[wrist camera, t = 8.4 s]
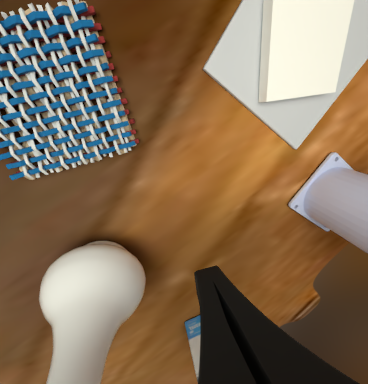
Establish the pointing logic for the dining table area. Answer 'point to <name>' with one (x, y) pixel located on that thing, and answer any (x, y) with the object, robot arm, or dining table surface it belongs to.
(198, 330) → the ink box
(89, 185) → the dining table surface
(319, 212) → the robot arm
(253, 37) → the felt pad
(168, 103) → the dining table surface
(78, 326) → the flower vase
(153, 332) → the dining table surface
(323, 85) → the tile
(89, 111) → the woven mat
